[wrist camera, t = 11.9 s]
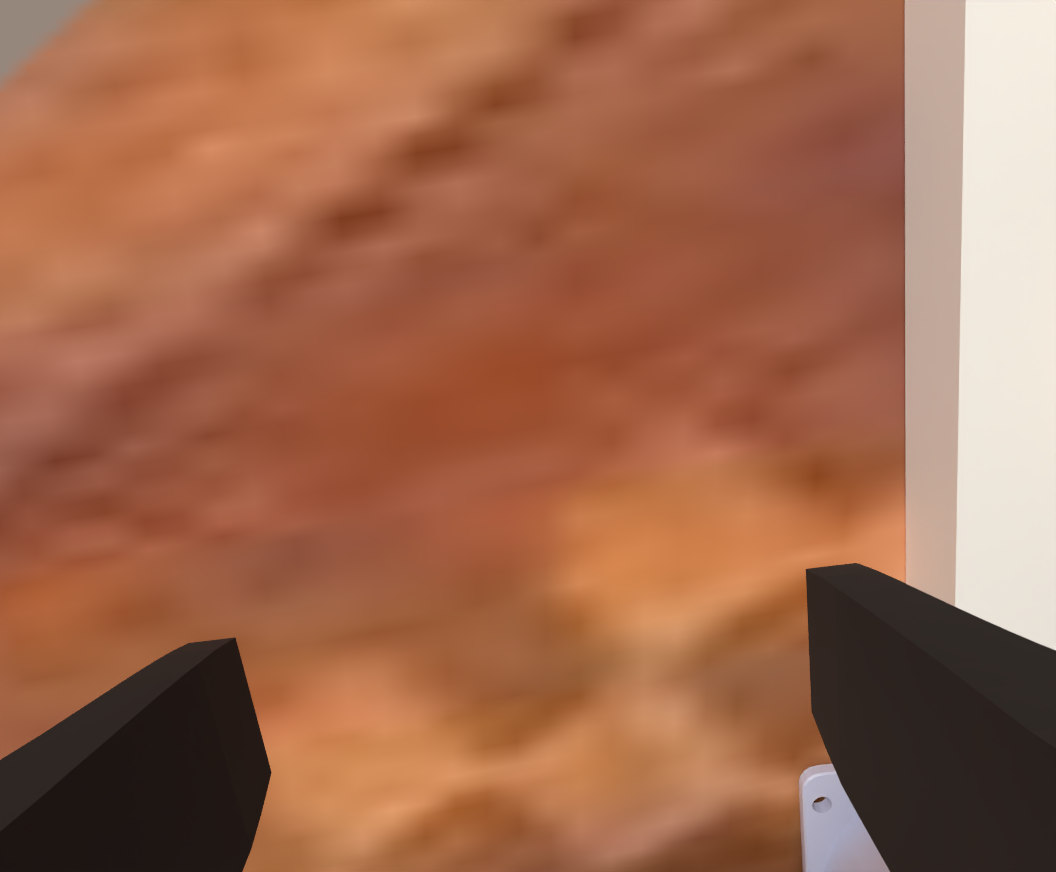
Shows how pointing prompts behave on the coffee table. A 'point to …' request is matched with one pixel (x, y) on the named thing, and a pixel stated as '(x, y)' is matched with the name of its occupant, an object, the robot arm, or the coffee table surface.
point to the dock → (982, 308)
